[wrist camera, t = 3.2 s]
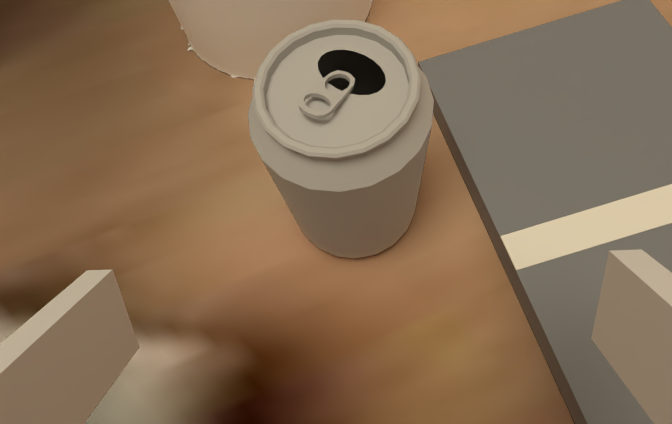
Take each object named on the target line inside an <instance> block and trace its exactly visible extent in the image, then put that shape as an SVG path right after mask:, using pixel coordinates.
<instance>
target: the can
mask: <svg viewBox="0 0 672 424" xmlns="http://www.w3.org/2000/svg"><path fill="white" fill-rule="evenodd" d="M433 104H434V99H433V96H432V93H431V90H430V87H429V83H428V80H427V77H426V76H425V74H424V73H423V72H422V70H421V69H420V68H419V67H418V65H417V63H416V60H415V56H414V55H413V54H412V52H411V51H410V50H409V49H408V47H407V46H406V45H405V44H404V42H403V41H402V40H401V39H400V38H398V37H397V36H395V35H394V34H392V33H390V32H389V31H387V30H386V29H384V28H383V27H380V26H377V25H374V24H370V23H367V22H363V21H360V20H330V21H325V22H320V23H316V24H311V25H309V26H306V27H304V28H302V29H300V30H298V31H296V32H294V33H292V34H290V35H288V36H287V37H286V38H284V39H283V40H282V41H281V42H280V43H279V44H277V45H276V46H275V47H274V48H273V49H271V50H270V52H269V53H268V55H267V56H266V58H265V59H264V61H263V62H262V64H261V65H260V67H259V68H258V71H257V75H256V79H255V82H254V86H253V96H252V100H251V104H250V108H249V111H248V119H249V129H250V138H251V140H252V142H253V144H254V145H255V147H256V149H257V151H258V153H259V155H260V157H261V159H262V161H263V163H264V164H265V166H266V168H267V170H268V171H269V173H270V175H271V177H272V179H273V180H274V182H275V184H276V186H277V187H278V189H279V191H280V193H281V195H282V196H283V198H284V200H285V202H286V203H287V205H288V207H289V209H290V210H291V212H292V214H293V216H294V218H295V219H296V221H297V223H298V225H299V226H300V228H301V230H302V232H303V234H304V235H305V236H306V237H307V238H308V239H309V240H310V241H311V242H312V243H313V244H314V245H315V246H316V247H317V248H319V249H321V250H323V251H326V252H328V253H330V254H332V255H334V256H338V257H347V258H361V257H366V256H371V255H376V254H378V253H380V252H381V251H383V250H385V249H387V248H389V247H391V246H393V245H394V244H395V243H396V242H397V241H398V240H399V238H400V237H401V236H402V235H403V234H404V233H405V232H406V231H407V229H408V227H409V225H410V222H411V220H412V218H413V216H414V213H415V208H416V203H417V198H418V193H419V188H420V183H421V178H422V173H423V168H424V163H425V158H426V152H427V147H428V142H429V137H430V132H431V127H432V117H433Z"/></svg>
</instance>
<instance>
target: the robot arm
mask: <svg viewBox="0 0 672 424" xmlns="http://www.w3.org/2000/svg"><path fill="white" fill-rule="evenodd" d="M591 339H592V340H593V342H594V343H595V345H596V346H597V347H598V349H599V350H600V351H601V353H602V354H603V355H604V357H605V358H606V359H607V361H608V362H609V363H610V365H611V366H612V368H613V369H614V370H615V372H616V373H617V374H618V376H619V377H620V378H621V380H622V381H623V382H624V384H625V385H626V386H627V388H628V389H629V390H630V392H631V393H632V395H633V396H634V397H635V399H636V400H637V401H638V403H639V404H640V405H641V407H642V408H643V409H644V411H645V412H646V413H647V415H648V416H649V417H650V419H651V420H652V422H653V423H654V424H672V273H671V272H670V271H669V270H668V269H666V268H665V267H664V266H662V265H661V264H660V263H659V262H657V261H656V260H655V259H653V258H652V257H651V256H650V255H648V254H647V253H646V252H644V251H643V250H642V249H639V250H612V251H609V253H608V258H607V263H606V268H605V273H604V278H603V282H602V287H601V292H600V297H599V302H598V307H597V312H596V317H595V322H594V327H593V332H592V337H591ZM138 348H139V345H138V342H137V339H136V336H135V333H134V330H133V327H132V325H131V322H130V319H129V316H128V313H127V310H126V307H125V304H124V301H123V298H122V295H121V293H120V290H119V287H118V284H117V281H116V278H115V275H114V272H113V270H87V271H86V272H85V273H83V274H82V275H81V276H80V277H79V278H77V279H76V280H75V281H74V282H73V283H72V284H70V285H69V286H68V287H67V288H66V289H64V290H63V291H62V292H61V293H60V294H59V295H57V296H56V297H55V298H54V299H53V300H51V301H50V302H49V303H48V304H47V305H45V306H44V307H43V308H42V309H41V310H40V311H38V312H37V313H36V314H35V315H34V316H32V317H31V318H30V319H29V320H28V321H27V322H25V323H24V324H23V325H22V326H21V327H19V328H18V329H17V330H16V331H15V332H14V333H12V334H11V335H10V336H9V337H8V338H6V339H5V340H4V341H3V342H2V343H0V424H84V423H85V421H86V420H87V418H88V417H89V416H90V414H91V413H92V412H93V410H94V409H95V407H96V406H97V405H98V403H99V402H100V401H101V399H102V398H103V396H104V395H105V394H106V392H107V391H108V390H109V388H110V387H111V385H112V384H113V383H114V381H115V380H116V379H117V377H118V376H119V374H120V373H121V372H122V370H123V369H124V368H125V366H126V365H127V363H128V362H129V361H130V359H131V358H132V356H133V355H134V354H135V352H136V351H137V350H138Z"/></svg>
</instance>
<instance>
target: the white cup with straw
mask: <svg viewBox="0 0 672 424" xmlns="http://www.w3.org/2000/svg"><path fill="white" fill-rule="evenodd" d="M168 1H169V3H170V5H171V7H172V8H173V10H174V12H175V14H176V16H177V18H178V20H179V22H180V24H181V26H182V27H181V29H183V30H184V32H185V33H186V35H187V39H188V40H189V44H188V45H191V47H189V48H188V50H187V51H189V50H193V51H194V52H196V54H197V55H198V57H200V58H201V60H204V61H205V62H207V63H208V64H209V65H210V66H212V67H214V68H216V69H217V70H218V71H222V72H225V73H227V74H229V75H231V77H232V78H237V77H242V78H247V79H248V78H251V79H256V75H257V71H258V68H259V67H260V65H261V64H262V62H263V61H264V59H265V58H266V56H267V55H268V53H269V52H270V50H271V49H273V48H274V47H275V46H276V45H277V44H279V43H280V42H281V41H282V40H283V39H284V38H286V37H287V36H288V35H290V34H292V33H294V32H296V31H298V30H300V29H302V28H304V27H306V26H309V25H311V24H316V23H320V22H325V21H330V20H360V21H363V22H365V20H366V18H367V16H368V14H369V11H370V8H371V5H372V1H373V0H168ZM254 82H255V80H254Z"/></svg>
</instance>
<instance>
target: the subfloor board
mask: <svg viewBox="0 0 672 424" xmlns="http://www.w3.org/2000/svg"><path fill="white" fill-rule="evenodd" d="M418 67H419V68H420V69H421V70H422V72H423V73H424V74H425V76H426V77H427V80H428V83H429V87H430V90H431V93H432V96H433V99H434V104H433V114H434V116H435V118H436V120H437V122H438V124H439V127H440V129H441V131H442V133H443V135H444V138H445V140H446V142H447V144H448V146H449V149H450V151H451V153H452V155H453V157H454V160H455V162H456V164H457V166H458V168H459V170H460V173H461V175H462V177H463V179H464V181H465V184H466V186H467V188H468V190H469V192H470V195H471V197H472V199H473V201H474V203H475V206H476V208H477V210H478V212H479V214H480V217H481V219H482V221H483V223H484V225H485V227H486V230H487V232H488V234H489V236H490V238H491V241H492V243H493V245H494V247H495V249H496V252H497V254H498V256H499V258H500V260H501V263H502V265H503V267H504V269H505V271H506V273H507V276H508V278H509V280H510V282H511V284H512V287H513V289H514V291H515V293H516V295H517V298H518V300H519V302H520V304H521V306H522V309H523V311H524V313H525V315H526V317H527V320H528V322H529V324H530V326H531V328H532V330H533V333H534V335H535V337H536V339H537V341H538V344H539V346H540V348H541V350H542V352H543V355H544V357H545V359H546V361H547V363H548V366H549V368H550V370H551V372H552V374H553V377H554V379H555V381H556V383H557V385H558V387H559V390H560V392H561V394H562V396H563V398H564V401H565V403H566V405H567V407H568V409H569V412H570V414H571V416H572V418H573V420H574V423H575V424H654V423H653V422H652V420H651V419H650V417H649V416H648V415H647V413H646V412H645V411H644V409H643V408H642V407H641V405H640V404H639V403H638V401H637V400H636V399H635V397H634V396H633V395H632V393H631V392H630V390H629V389H628V388H627V386H626V385H625V384H624V382H623V381H622V380H621V378H620V377H619V376H618V374H617V373H616V372H615V370H614V369H613V368H612V366H611V365H610V363H609V362H608V361H607V359H606V358H605V357H604V355H603V354H602V353H601V351H600V350H599V349H598V347H597V346H596V345H595V343H594V342H593V340H592V339H591V337H592V332H593V327H594V322H595V317H596V312H597V307H598V302H599V297H600V292H601V287H602V282H603V278H604V273H605V268H606V263H607V258H608V253H609V251H612V250H639V249H642V250H643V251H644V252H646V253H647V254H648V255H650V256H651V257H652V258H653V259H655V260H656V261H657V262H659V263H660V264H661V265H662V266H664V267H665V268H666V269H668V270H669V271H670V272H671V273H672V27H671V26H670V25H669V23H668V22H667V21H666V20H665V18H664V17H663V16H662V15H661V14H660V12H659V11H658V10H657V9H656V7H655V6H654V5H653V4H652V3H651V1H650V0H622V1H619V2H615V3H612V4H609V5H605V6H602V7H599V8H595V9H592V10H589V11H585V12H582V13H579V14H575V15H572V16H569V17H566V18H562V19H559V20H556V21H552V22H549V23H546V24H542V25H539V26H536V27H532V28H529V29H526V30H522V31H519V32H516V33H513V34H509V35H506V36H503V37H499V38H496V39H493V40H489V41H486V42H483V43H479V44H476V45H473V46H469V47H466V48H463V49H460V50H456V51H453V52H450V53H446V54H443V55H440V56H436V57H433V58H430V59H426V60H423V61H420V62H418Z"/></svg>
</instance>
